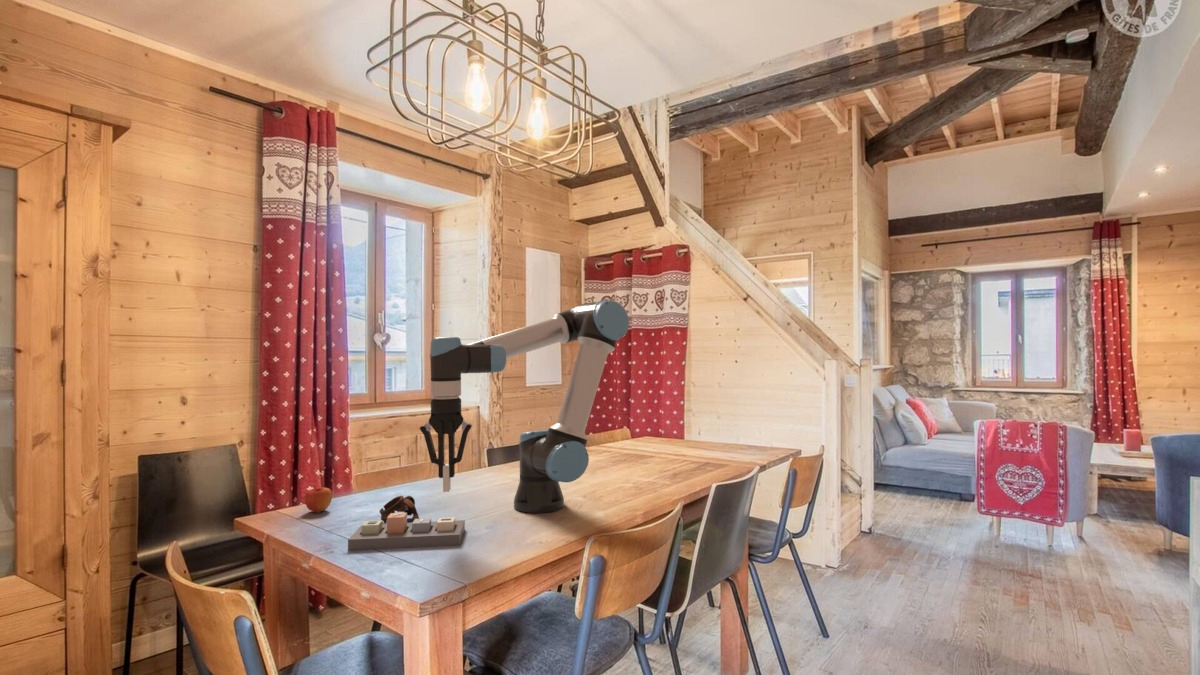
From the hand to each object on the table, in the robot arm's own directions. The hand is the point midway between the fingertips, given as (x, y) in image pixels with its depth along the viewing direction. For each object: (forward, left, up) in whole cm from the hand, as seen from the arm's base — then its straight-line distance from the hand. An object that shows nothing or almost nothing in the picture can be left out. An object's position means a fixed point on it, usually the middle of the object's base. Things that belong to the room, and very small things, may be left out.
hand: (446, 490), depth 146 cm
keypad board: (+9, 0, -12) cm, 15 cm away
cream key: (0, 0, -11) cm, 11 cm away
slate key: (+6, 0, -11) cm, 13 cm away
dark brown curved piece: (+14, -16, -12) cm, 25 cm away
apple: (+41, -30, -12) cm, 52 cm away
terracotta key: (+12, 0, -10) cm, 16 cm away
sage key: (+18, 0, -11) cm, 21 cm away
